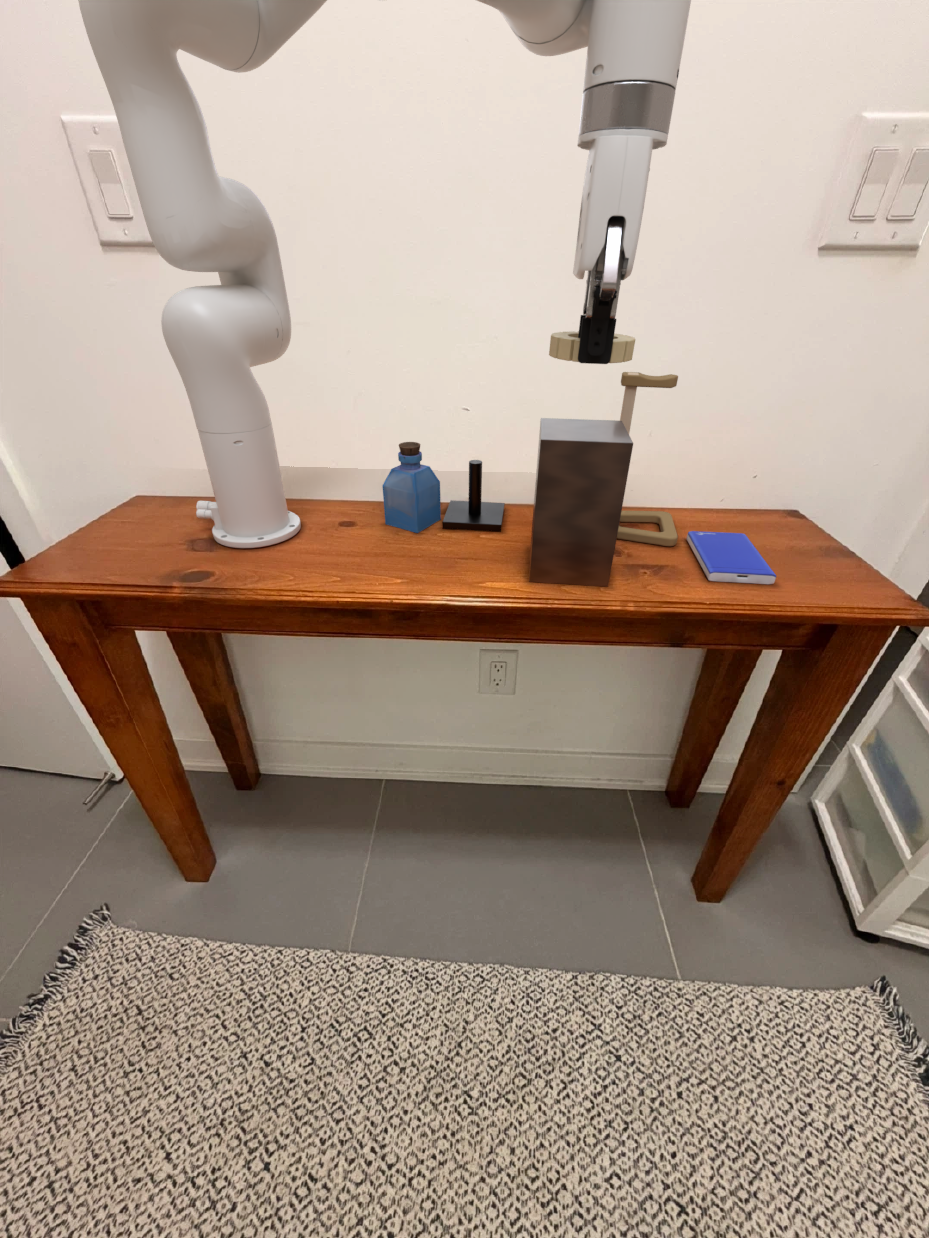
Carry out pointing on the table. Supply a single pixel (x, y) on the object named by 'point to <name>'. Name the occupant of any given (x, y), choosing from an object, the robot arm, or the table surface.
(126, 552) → the table surface
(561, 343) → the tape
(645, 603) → the table surface
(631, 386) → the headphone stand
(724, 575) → the hard drive
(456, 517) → the post
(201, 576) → the table surface
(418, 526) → the perfume bottle
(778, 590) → the table surface
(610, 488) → the stand box
